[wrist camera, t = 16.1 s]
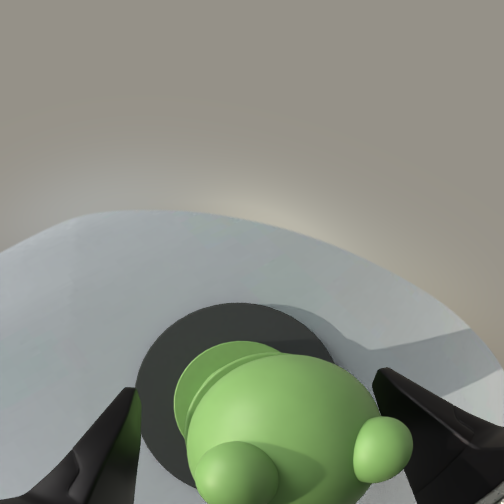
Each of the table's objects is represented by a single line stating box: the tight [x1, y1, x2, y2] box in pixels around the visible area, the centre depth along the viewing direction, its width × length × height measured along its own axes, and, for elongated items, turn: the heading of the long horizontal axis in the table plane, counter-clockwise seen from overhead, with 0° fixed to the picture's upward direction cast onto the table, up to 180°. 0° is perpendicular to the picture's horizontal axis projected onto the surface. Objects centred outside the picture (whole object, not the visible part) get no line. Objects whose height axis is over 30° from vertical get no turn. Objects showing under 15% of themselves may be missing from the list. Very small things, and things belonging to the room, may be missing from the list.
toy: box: [174, 341, 413, 504], centre depth 10 cm, size 8×8×15 cm
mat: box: [135, 303, 334, 489], centre depth 17 cm, size 14×14×1 cm
